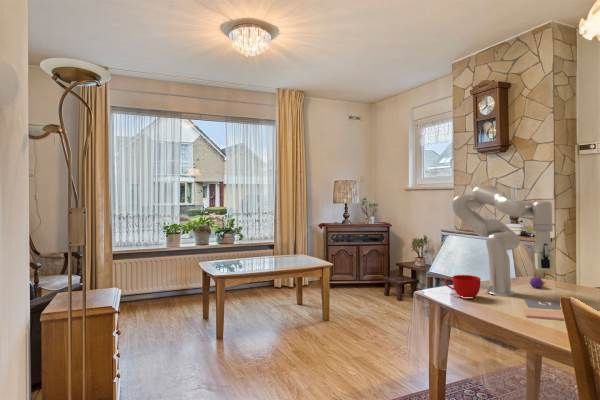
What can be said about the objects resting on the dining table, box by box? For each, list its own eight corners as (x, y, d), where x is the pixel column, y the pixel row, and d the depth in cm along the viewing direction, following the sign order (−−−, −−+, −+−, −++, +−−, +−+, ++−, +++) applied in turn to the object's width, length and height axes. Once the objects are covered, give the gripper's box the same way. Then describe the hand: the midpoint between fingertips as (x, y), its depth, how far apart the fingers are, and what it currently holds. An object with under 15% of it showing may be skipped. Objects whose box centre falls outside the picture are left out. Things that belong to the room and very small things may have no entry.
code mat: (528, 308, 162) (528, 307, 162) (523, 300, 174) (523, 299, 174) (572, 311, 155) (572, 310, 155) (563, 302, 168) (563, 302, 168)
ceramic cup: (447, 292, 194) (447, 273, 194) (482, 295, 184) (482, 276, 184) (442, 297, 183) (441, 278, 183) (479, 302, 173) (478, 281, 173)
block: (537, 270, 165) (537, 254, 165) (535, 267, 171) (534, 253, 171) (553, 270, 163) (552, 255, 163) (550, 268, 168) (549, 253, 168)
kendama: (544, 275, 208) (543, 279, 192) (542, 285, 208) (541, 290, 192) (532, 272, 212) (530, 276, 195) (530, 282, 212) (528, 287, 196)
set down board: (526, 317, 150) (525, 315, 150) (522, 310, 159) (522, 308, 159) (566, 320, 144) (566, 318, 144) (560, 313, 153) (560, 311, 153)
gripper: (529, 226, 176) (531, 263, 176) (536, 229, 160) (538, 270, 160) (548, 226, 173) (549, 263, 173) (556, 229, 157) (558, 270, 157)
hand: (544, 266), depth 167 cm, fingers closed on block, 6 cm apart
